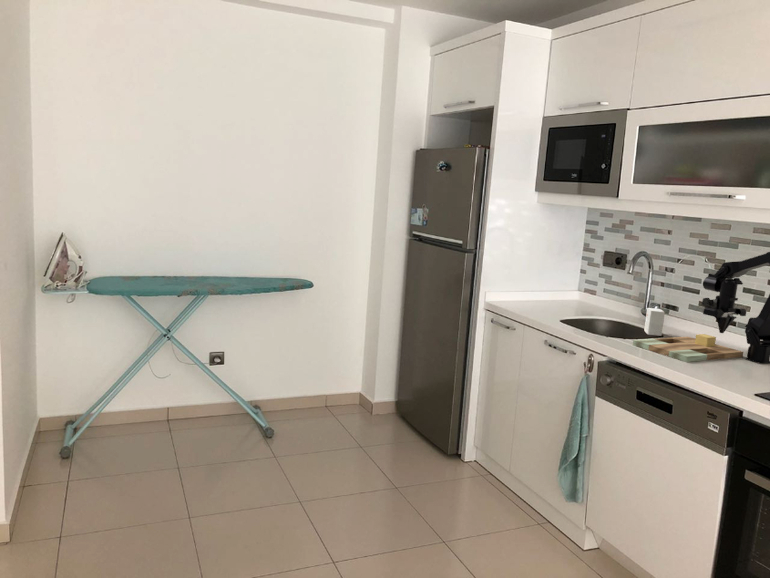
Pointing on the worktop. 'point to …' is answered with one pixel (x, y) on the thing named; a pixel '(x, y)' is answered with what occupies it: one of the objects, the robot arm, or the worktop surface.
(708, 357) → the trap deck
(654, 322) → the small box
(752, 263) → the robot arm
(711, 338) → the mustard block
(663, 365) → the worktop surface
